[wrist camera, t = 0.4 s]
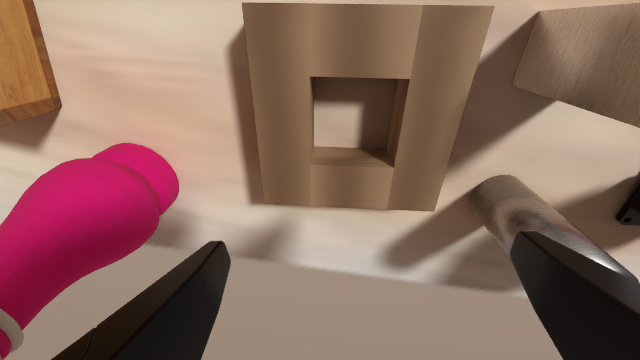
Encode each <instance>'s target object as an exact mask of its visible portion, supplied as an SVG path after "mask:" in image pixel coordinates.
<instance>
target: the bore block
mask: <svg viewBox="0 0 640 360" xmlns="http://www.w3.org/2000/svg"><path fill="white" fill-rule="evenodd" d="M494 7H495V6H450V5H380V4H310V3H242V10H243V19H244V27H245V36H246V45H247V54H248V63H249V72H250V81H251V89H252V98H253V107H254V116H255V125H256V134H257V142H258V151H259V160H260V169H261V178H262V187H263V195H264V204H273V205H296V206H319V207H342V208H365V209H388V210H411V211H433V212H434V210H435V207H436V204H437V200H438V197H439V193H440V190H441V187H442V183H443V180H444V176H445V173H446V170H447V166H448V163H449V159H450V156H451V153H452V149H453V146H454V142H455V139H456V136H457V132H458V129H459V125H460V122H461V119H462V115H463V112H464V109H465V105H466V102H467V98H468V95H469V92H470V88H471V85H472V81H473V78H474V75H475V71H476V68H477V64H478V61H479V58H480V54H481V51H482V47H483V44H484V41H485V37H486V34H487V30H488V27H489V24H490V20H491V17H492V13H493V10H494ZM314 77H352V78H393V79H397V84H396V90H395V97H394V103H393V109H392V116H391V122H390V129H389V135H388V142H387V148H386V149H367V148H338V147H314Z"/></svg>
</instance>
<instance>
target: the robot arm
mask: <svg viewBox="0 0 640 360" xmlns="http://www.w3.org/2000/svg"><path fill="white" fill-rule="evenodd" d="M616 221H618V222H619V223H621V224H623V225H639V226H640V186H639V187H638V188H637V190H636V191H635V192H634V194H633V195H632V196H631V198H630V199H629V200H628V202H627V203H626V205H625V206H624V207H623V209H622V210H621V211H620V213H619V214H618V215H617V217H616ZM510 258H511V261H512V263H513V265H514V267H515V269H516V272H517V274H518V276H519V278H520V280H521V282H522V285H523V287H524V289H525V291H526V293H527V295H528V298H529V300H530V302H531V304H532V306H533V308H534V310H535V312H536V313H537V315H538V317H539V319H540V321H541V322H542V324H543V326H544V327H545V329H546V331H547V332H548V334H549V336H550V338H551V339H552V341H553V343H554V344H555V346H556V348H557V349H558V351H559V353H560V355H561V356H562V358H563V360H640V283H638V282H636V281H634V280H632V279H630V278H628V277H626V276H624V275H622V274H620V273H618V272H616V271H614V270H612V269H610V268H608V267H606V266H604V265H602V264H600V263H598V262H596V261H594V260H592V259H590V258H588V257H586V256H584V255H582V254H580V253H578V252H576V251H574V250H572V249H570V248H568V247H566V246H564V245H562V244H561V243H559V242H557V241H555V240H553V239H551V238H549V237H547V236H545V235H543V234H541V233H539V232H537V231H532V230H531V231H519V232H517V233H516V235H515V238H514V241H513V244H512V247H511V250H510ZM230 263H231V260H230V256H229V254H228V251H227V248H226V246H225V243H224V242H223V241H210V242H208V243H207V244H206V245H204V246H203V247H201V248H200V249H199V250H197V251H196V252H195V253H193V254H192V255H191V256H189V257H188V258H187V259H186V260H184V261H183V262H181V263H180V264H179V265H177V266H176V267H175V268H173V269H172V270H171V271H170V272H168V273H167V274H166V275H164V276H163V277H161V278H160V279H159V280H157V281H156V282H155V283H154V284H152V285H151V286H149V287H148V288H147V289H145V290H144V291H143V292H141V293H140V294H139V295H137V296H136V297H135V298H133V299H132V300H131V301H129V302H128V303H127V304H125V305H124V306H123V307H121V308H120V309H119V310H117V311H116V312H115V313H113V314H112V315H111V316H109V317H108V318H107V319H105V320H104V321H102V322H101V323H100V324H99V325H97V327H96V328H93V329H92V330H91V331H89V332H88V333H86V334H85V335H84V336H82V337H81V338H80V339H79V340H77V341H76V342H74V343H73V344H71V345H70V346H69V347H67V348H66V349H65V350H63V351H62V352H61V353H60V354H58V355H56V356H55V357H54V358H52V359H51V360H201V358H202V355H203V352H204V350H205V347H206V344H207V341H208V339H209V336H210V333H211V330H212V328H213V325H214V322H215V319H216V316H217V314H218V311H219V308H220V304H221V300H222V296H223V292H224V288H225V284H226V281H227V277H228V272H229V268H230Z"/></svg>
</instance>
